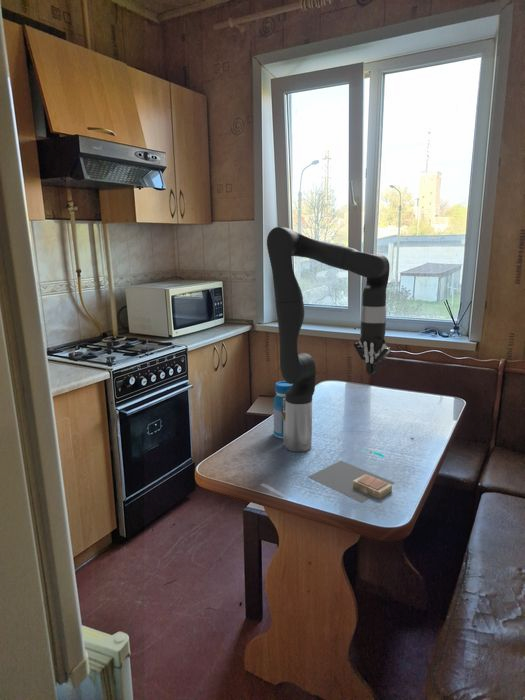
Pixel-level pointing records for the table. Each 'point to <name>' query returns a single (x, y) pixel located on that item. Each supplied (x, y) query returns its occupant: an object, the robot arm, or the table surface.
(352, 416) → the table surface
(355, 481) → the maple picture frame
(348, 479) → the rubber mat
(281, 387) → the beverage bottle
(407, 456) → the table surface
